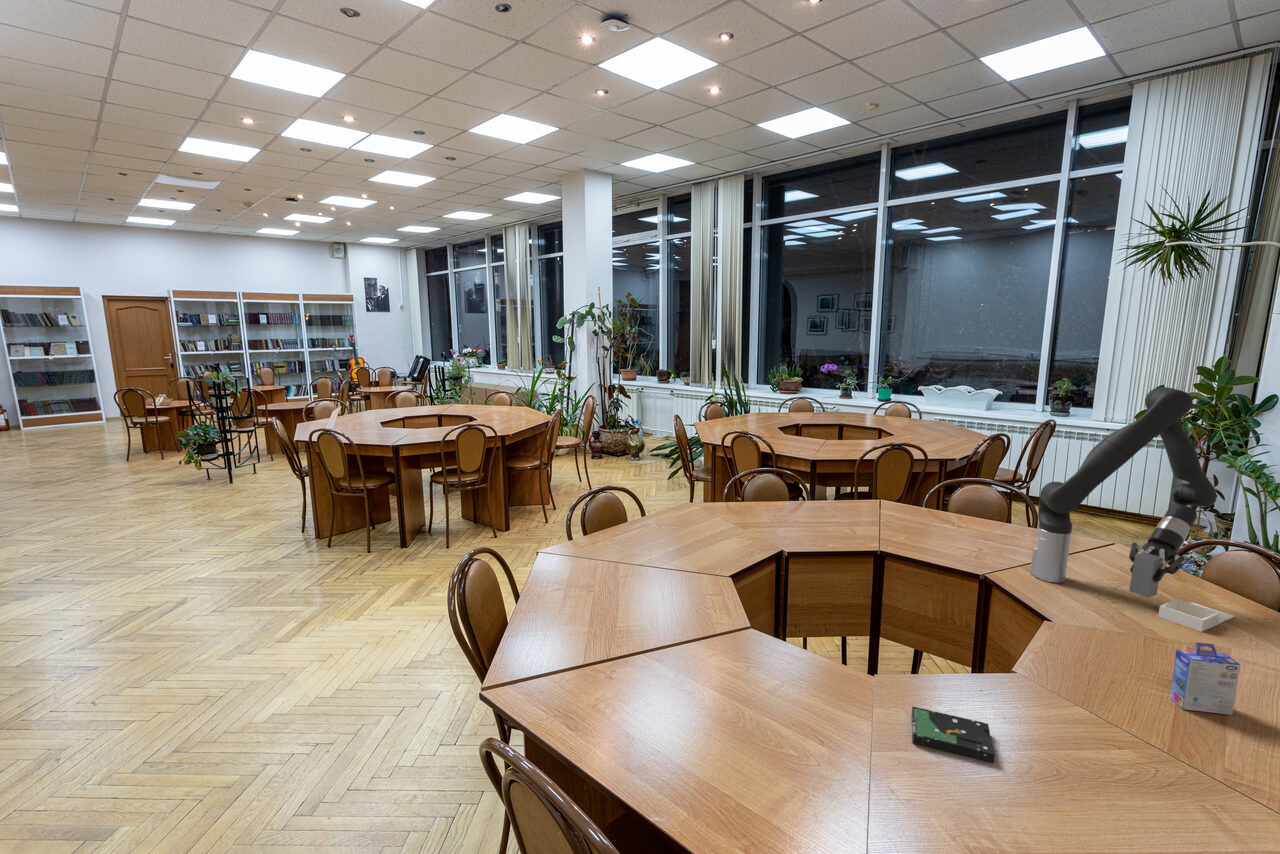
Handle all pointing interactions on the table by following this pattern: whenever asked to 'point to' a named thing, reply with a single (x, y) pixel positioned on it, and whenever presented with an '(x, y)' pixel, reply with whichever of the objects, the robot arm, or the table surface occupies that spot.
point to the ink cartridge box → (1205, 680)
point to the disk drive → (952, 734)
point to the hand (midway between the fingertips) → (1143, 577)
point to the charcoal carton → (1145, 574)
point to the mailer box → (1192, 615)
